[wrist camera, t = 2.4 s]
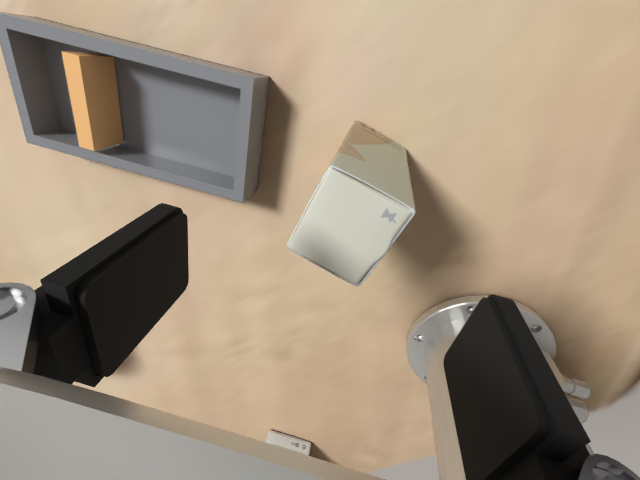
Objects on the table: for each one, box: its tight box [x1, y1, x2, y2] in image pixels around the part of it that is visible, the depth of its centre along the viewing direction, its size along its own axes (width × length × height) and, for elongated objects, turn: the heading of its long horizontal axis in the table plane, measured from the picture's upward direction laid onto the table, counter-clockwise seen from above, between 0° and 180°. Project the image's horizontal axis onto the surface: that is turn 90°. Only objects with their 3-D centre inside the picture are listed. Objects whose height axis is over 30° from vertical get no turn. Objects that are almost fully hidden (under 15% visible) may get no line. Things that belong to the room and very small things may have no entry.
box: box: [287, 121, 416, 286], centre depth 19 cm, size 5×4×11 cm
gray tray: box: [0, 12, 270, 203], centre depth 23 cm, size 18×9×3 cm, turn 78°
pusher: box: [61, 51, 124, 151], centre depth 23 cm, size 1×6×3 cm, turn 168°
